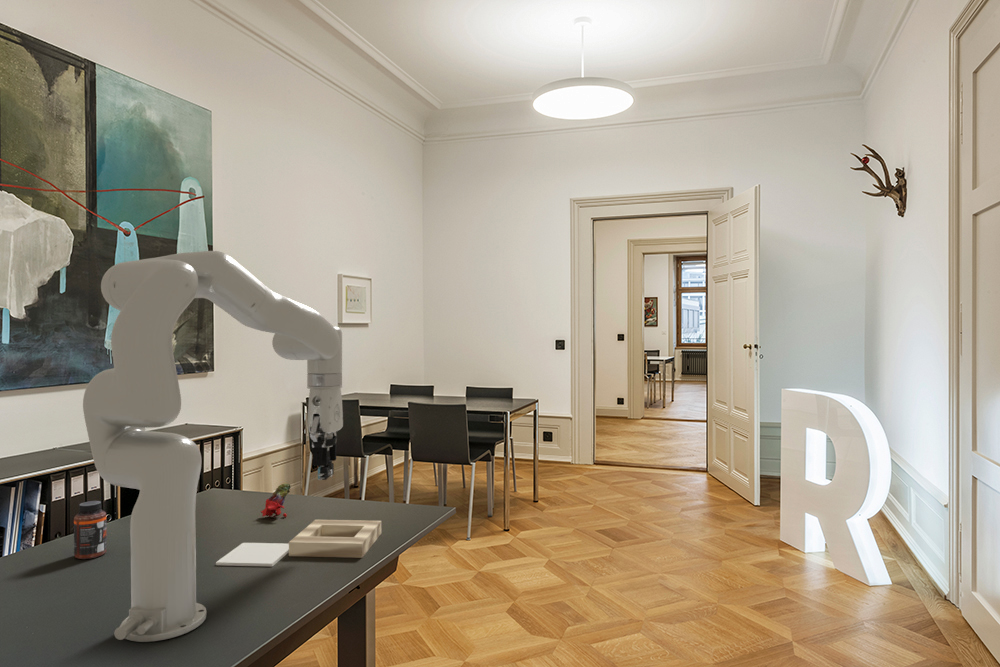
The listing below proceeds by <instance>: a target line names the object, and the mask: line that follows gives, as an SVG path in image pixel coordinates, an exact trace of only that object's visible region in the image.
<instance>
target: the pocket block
mask: <svg viewBox="0 0 1000 667" xmlns="http://www.w3.org/2000/svg"><path fill="white" fill-rule="evenodd" d="M381 535H382V520H364V519H362V520H360V519H359V520H355V519H354V520H353V519H314V520H313V521H312V522H311V523H310V524H308V525H307V526H306V527H305V528H304V529H302V530H301V531H300V532H299V533H298V534H296V535H295V536H294V537H293V538H292V539H291V540H289V542H288V544H289V552H288V556H289V557H308V558H309V557H310V558H311V557H314V558H322V557H323V558H352V559H353V558H357V559H359V558H360V559H361V558H364V556H366V554H367V552H368V551H369V550H370V549H371V547H372V546H373V545H374V544H375V542H376V541H377V540H378V539H379V537H380V536H381Z"/></svg>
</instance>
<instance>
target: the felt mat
mask: <svg viewBox="0 0 1000 667" xmlns="http://www.w3.org/2000/svg"><path fill="white" fill-rule="evenodd" d="M287 554H289V543H281V542H280V543H279V542H277V543H276V542H273V543H271V542H270V543H269V542H242V543H240V544H239V545H238V546H237V547H235V548H234V549H232V550H231V551H229V552H228V553H227V554H225V555H224V556H222V557H220V558H219V560H217V561H216V562H215V566H228V567H229V566H233V567H235V566H236V567H237V566H238V567H271V568H272V567H273V566H275V565H276V564H277V563H278V562H279V561H280V560H282V559H283V558H284V557H285V556H286V555H287Z"/></svg>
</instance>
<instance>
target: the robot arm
mask: <svg viewBox="0 0 1000 667" xmlns="http://www.w3.org/2000/svg"><path fill="white" fill-rule="evenodd" d="M100 283H101V284H100V289H101V290H100V291H101V295H102V296H103V298H104V300H105V302H106V303H107V304H108V305H109V306H111V307H112V308H114V309H116V310H118V311H119V314H118V315H117V317H116V318H115V321H114V324H113V326H112V330H111V334H110V335H111V337H110V344H111V345H110V348H111V354H112V355H111V356H112V362H113V368H109V369H108V368H107V369H104V370H103V371H101V372H98V373H96V374H95V376H93V378H91V379H90V380H89V382H88V384H87V386H86V387H85V391H84V394H83V399H82V410H83V411H82V412H83V416H84V421H85V427H86V431H87V436H88V441H89V445H90V451H91V455H92V459H93V463H94V467H95V469H96V472H97V473H98V475H99V476H100V477H101V479H103V480H104V481H105V482H106V483H108V484H110V485H112V486H116V487H121V488H129V489H136V490H139V494H138V497H137V499H136V502H135V504H134V506H133V508H132V512H131V515H130V522H129V523H130V524H129V529H130V530H129V535H130V537H129V538H130V595H131V596H130V604H131V605H130V608H129V609H128V616H127V617H126V618H124V620H122V622H121V624H120V625H119V627H116V629H114V632H113V633H114V634H113V635H114V637H115V639H117V640H120V641H122V640H128V641H131V642H137V643H138V642H139V643H150V642H151V643H152V642H159V641H164V640H168V639H173V638H176V637H179V636H182V635H184V634H187V633H190V632H191V631H193V630H195V629H196V628H198V627H199V626H201V625H202V624H203V623H204V622H205V620H206V619H207V617H208V616H207V608H206V607H205V605H203V604H201V603H199V602H197V557H196V556H197V550H196V549H197V544H196V543H197V542H196V540H197V539H196V537H197V536H196V531H197V530H196V506H197V503H196V502H197V491H198V485H199V480H200V475H201V471H202V470H201V469H202V459H203V458H202V453H201V450H200V449H199V447H198V445H197V443H196V442H195V441H193V440H192V439H190V438H189V437H187V436H184V435H182V434H180V433H176V432H175V433H174V432H165V431H164V432H162V431H151V430H150V431H149V430H146V428H147V429H149V428H150V429H151V428H161V427H164V426H168V425H170V424H171V423H173V422H174V421H175V420H176V419H177V418H178V416H179V415H180V412H181V411H182V410H181V409H182V396H181V388H180V384H179V378H178V372H177V367H176V361H175V356H174V349H173V348H174V346H173V334H174V329H175V326H176V324H177V322H178V320H179V319H180V317H181V315H182V314H183V312H184V311H185V310H186V309H187V308H188V306H189V305H190V304H191V303H192V302H193V301H194V299H205V300H208V301H210V302H212V303H213V304H214V305H216V306H217V307H218V308H220V309H221V310H222V311H224V312H225V313H227V314H228V315H229V316H231V317H232V318H233V319H235V320H236V321H237V322H239V323H240V324H241V325H243V326H244V327H248V328H251V329H254V330H257V331H260V332H265V333H271V334H273V337H272V339H271V340H272V341H271V342H272V347H273V351H274V352H275V353H276V354H277V355H278V356H279V357H280V358H283V359H286V360H290V361H291V360H292V361H307V362H306V364H307V365H306V366H307V368H306V369H307V370H306V372H307V373H306V375H307V376H306V377H307V380H306V381H307V382H306V383H307V384H306V388H307V389H308V390H309V394H308V395H309V396H308V409H307V430H308V433H309V438H310V439H311V447H312V452H311V453H312V460H311V461H312V462H311V464H312V466H315V467H318V466H326V465H327V462H328V447H326V439H327V434H331V433H333V435H335V436H337V434H338V431H340V430H341V429H342V428H343V427H344V412H343V396H342V388H343V332H342V329H341V328H340V327H339V326H334V325H333V323H331V322H330V321H329V320H328V319H326V317H324V316H323V315H322V314H321V313H320V312H318V311H316V310H315V309H313V308H311V307H309V306H307V305H306V304H303V303H301V302H299V301H295V300H294V299H291V298H289V297H287V296H285V295H282V294H280V293H277V292H275V291H273V290H272V289H271V288H270V287H268V286H267V285H266V284H264V283H263V282H262V281H260V279H259V278H257V277H256V276H255V275H253V273H251V272H250V271H249V270H248V269H247V268H246V267H244V266H243V265H242V264H240V263H239V262H238V261H237V260H236V259H234V258H233V257H232V256H230V255H229V254H228V253H225V252H222V251H219V250H218V251H217V250H205V251H202V250H201V251H191V252H190V251H189V252H188V251H187V252H180V253H179V252H178V253H174V254H168V255H163V256H158V257H150V258H143V259H137V260H128V261H123V262H119V263H116V264H114V265H112V266H110V268H108V269H107V271H106V272H105V273H104V274H103V276H102V278H101V281H100ZM318 432H324V433H318ZM319 436H323V438H322V439H321V437H319ZM337 440H338V438H337V439H336V442H338V441H337ZM329 455H330V460H332V462H334V461H336V460H337V443H336V444H335V445H333V446H332V447H329Z"/></svg>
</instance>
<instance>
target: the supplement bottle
mask: <svg viewBox="0 0 1000 667" xmlns="http://www.w3.org/2000/svg"><path fill="white" fill-rule="evenodd" d="M78 511H79V512H78V513H77V514H76V515H75V516H74V518H73V554H74V558H76V559H78V560H88V559H94V558H98V557H101V556H104V555H105V553H107V551H108V550H107V546H108V545H107V544H108V542H107V541H108V540H107V538H108V537H107V536H108V534H107V532H108V529H107V521H108V520H107V512H106V511H104V510H103V509H102V501H100V500H91V501H90V500H89V501H85V502H81V503H79V505H78Z"/></svg>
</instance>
